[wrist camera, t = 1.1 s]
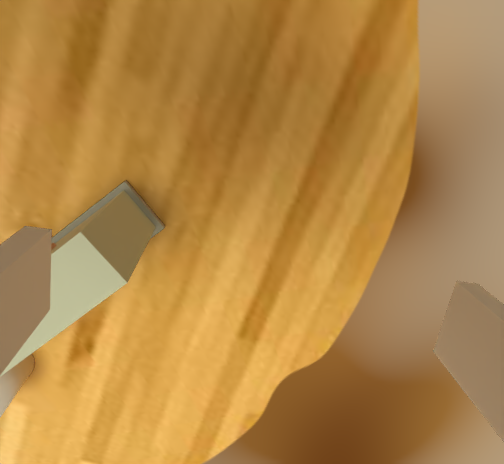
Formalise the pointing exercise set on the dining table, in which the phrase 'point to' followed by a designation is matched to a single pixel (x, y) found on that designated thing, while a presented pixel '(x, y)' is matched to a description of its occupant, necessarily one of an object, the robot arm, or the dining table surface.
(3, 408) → the grey capsule
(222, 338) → the dining table surface
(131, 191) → the unit
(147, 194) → the dining table surface
